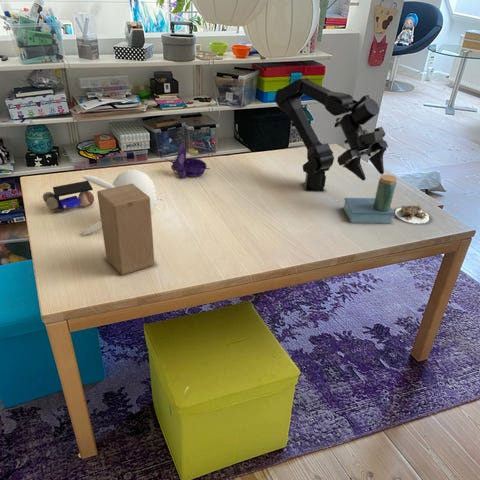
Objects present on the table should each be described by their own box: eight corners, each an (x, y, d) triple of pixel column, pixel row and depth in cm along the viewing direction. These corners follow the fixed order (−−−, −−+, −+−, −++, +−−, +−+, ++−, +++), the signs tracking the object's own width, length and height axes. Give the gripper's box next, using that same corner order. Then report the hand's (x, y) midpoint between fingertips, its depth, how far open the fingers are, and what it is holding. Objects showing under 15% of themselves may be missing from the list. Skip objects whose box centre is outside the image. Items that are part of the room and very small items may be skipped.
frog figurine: (410, 226, 161) (413, 215, 159) (386, 211, 170) (389, 200, 167) (437, 221, 166) (440, 210, 163) (412, 206, 174) (415, 195, 172)
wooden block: (155, 265, 136) (150, 196, 124) (121, 276, 131) (112, 205, 119) (138, 249, 142) (132, 182, 130) (105, 259, 137) (96, 190, 125)
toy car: (51, 220, 156) (98, 207, 161) (44, 198, 151) (92, 185, 156) (47, 211, 161) (92, 199, 166) (39, 189, 156) (86, 177, 161)
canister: (375, 211, 160) (382, 180, 154) (370, 204, 164) (377, 174, 158) (391, 212, 161) (399, 181, 154) (386, 204, 165) (394, 174, 158)
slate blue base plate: (350, 223, 161) (352, 212, 159) (342, 208, 170) (344, 197, 168) (391, 223, 163) (394, 212, 160) (381, 208, 171) (384, 198, 169)
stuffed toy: (155, 161, 153) (73, 162, 140) (174, 180, 144) (88, 184, 132) (150, 216, 164) (73, 222, 152) (166, 237, 156) (86, 245, 143)
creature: (161, 172, 187) (159, 139, 180) (207, 168, 192) (207, 136, 185) (166, 181, 181) (164, 147, 173) (213, 177, 186) (214, 144, 178)
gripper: (351, 123, 148) (372, 171, 149) (390, 114, 158) (410, 159, 158) (327, 142, 158) (348, 187, 158) (365, 132, 168) (384, 175, 168)
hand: (373, 176), depth 160 cm, fingers open, 9 cm apart
